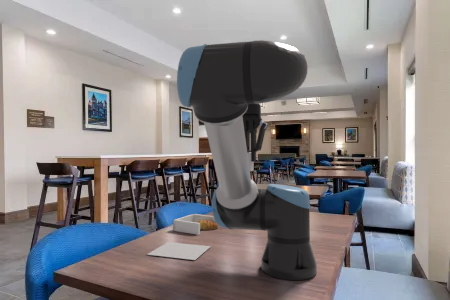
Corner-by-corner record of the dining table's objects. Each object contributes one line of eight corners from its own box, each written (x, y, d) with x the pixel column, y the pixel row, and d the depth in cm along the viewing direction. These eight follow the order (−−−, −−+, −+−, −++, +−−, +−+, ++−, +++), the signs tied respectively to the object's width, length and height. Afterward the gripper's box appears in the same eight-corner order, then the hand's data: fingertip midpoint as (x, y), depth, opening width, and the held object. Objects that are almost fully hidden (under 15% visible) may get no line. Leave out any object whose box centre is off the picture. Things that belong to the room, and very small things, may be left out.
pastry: (218, 226, 131) (218, 218, 131) (217, 231, 124) (217, 222, 124) (197, 226, 131) (197, 218, 131) (195, 230, 125) (195, 221, 125)
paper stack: (179, 236, 115) (179, 235, 116) (240, 242, 108) (240, 240, 108) (146, 256, 93) (146, 254, 93) (221, 265, 86) (221, 263, 86)
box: (198, 234, 117) (198, 223, 117) (173, 230, 124) (173, 220, 124) (217, 226, 130) (217, 216, 130) (193, 223, 137) (193, 213, 137)
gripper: (271, 104, 104) (271, 170, 104) (238, 107, 110) (238, 170, 110) (263, 101, 97) (263, 172, 97) (228, 104, 104) (228, 170, 103)
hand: (250, 170), depth 103 cm, fingers closed
